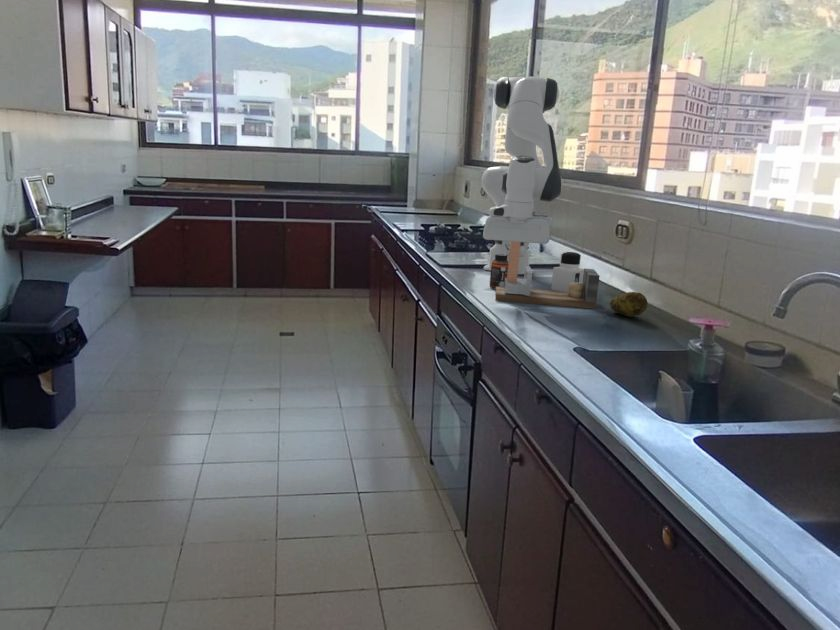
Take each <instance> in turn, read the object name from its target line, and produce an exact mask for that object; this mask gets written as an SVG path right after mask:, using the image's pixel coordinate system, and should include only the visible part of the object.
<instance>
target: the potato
mask: <svg viewBox="0 0 840 630" xmlns="http://www.w3.org/2000/svg"><path fill="white" fill-rule="evenodd" d="M648 303H649V302H648V300H647V297H646V296H645V295H644V294H643V293H641V292H636V291H628V292H626V293H624V294H621V295H619V296H616V297H613V298H612V299H611V300H610V303H609V307H610V309H611V310H612V311H613V312H615V313H617V314H619V315H622V316H625V317H627V318H632V317H637V316H640V315H642V314H643V313H644V312H645V311H646V310H647V308H648Z"/></svg>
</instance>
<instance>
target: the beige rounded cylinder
mask: <svg viewBox="0 0 840 630" xmlns="http://www.w3.org/2000/svg"><path fill="white" fill-rule="evenodd" d="M583 290H584V284H582V283H575V282H572V283H570V284H569V293H568V296H569V297H572V298H583Z"/></svg>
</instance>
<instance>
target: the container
mask: <svg viewBox="0 0 840 630" xmlns="http://www.w3.org/2000/svg"><path fill="white" fill-rule="evenodd" d="M581 257H582V256H581V254H580V253H578V252H574V251H563V252H561V253H560V258H559V266H554V267H553V268H552V278H551V286H550V287H551V288H550V289H551V290H550V291H559V292H569V284H570V283H572V282H575V283H582V282H583V274H584V269H585V268H580V265H581Z"/></svg>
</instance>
